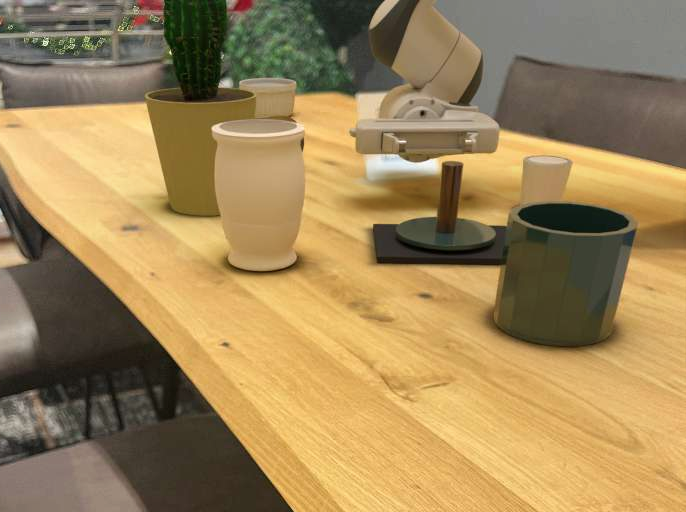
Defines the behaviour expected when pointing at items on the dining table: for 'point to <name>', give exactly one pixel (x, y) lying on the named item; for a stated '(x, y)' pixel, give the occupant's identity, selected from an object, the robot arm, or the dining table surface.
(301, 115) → the dining table surface
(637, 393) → the dining table surface
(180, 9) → the potted cactus
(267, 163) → the jar
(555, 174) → the beige cylinder
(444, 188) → the jar lid
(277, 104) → the ramekin
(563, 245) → the storage jar
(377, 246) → the mat
